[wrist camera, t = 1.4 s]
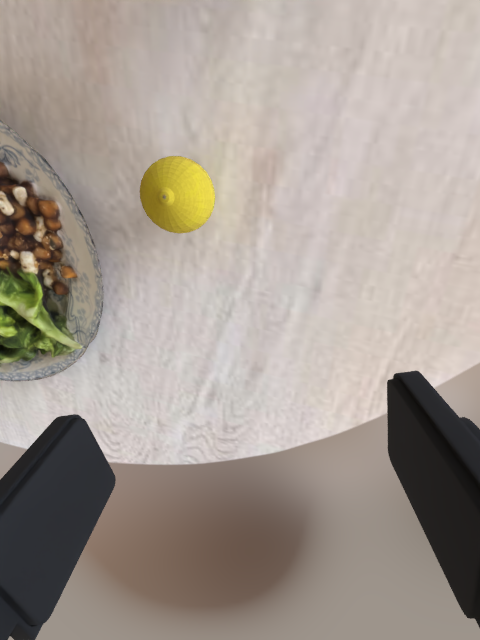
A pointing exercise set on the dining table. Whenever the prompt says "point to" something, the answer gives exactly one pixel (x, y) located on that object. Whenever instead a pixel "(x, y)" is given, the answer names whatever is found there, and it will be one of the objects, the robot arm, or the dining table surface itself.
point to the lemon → (177, 194)
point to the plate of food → (42, 268)
